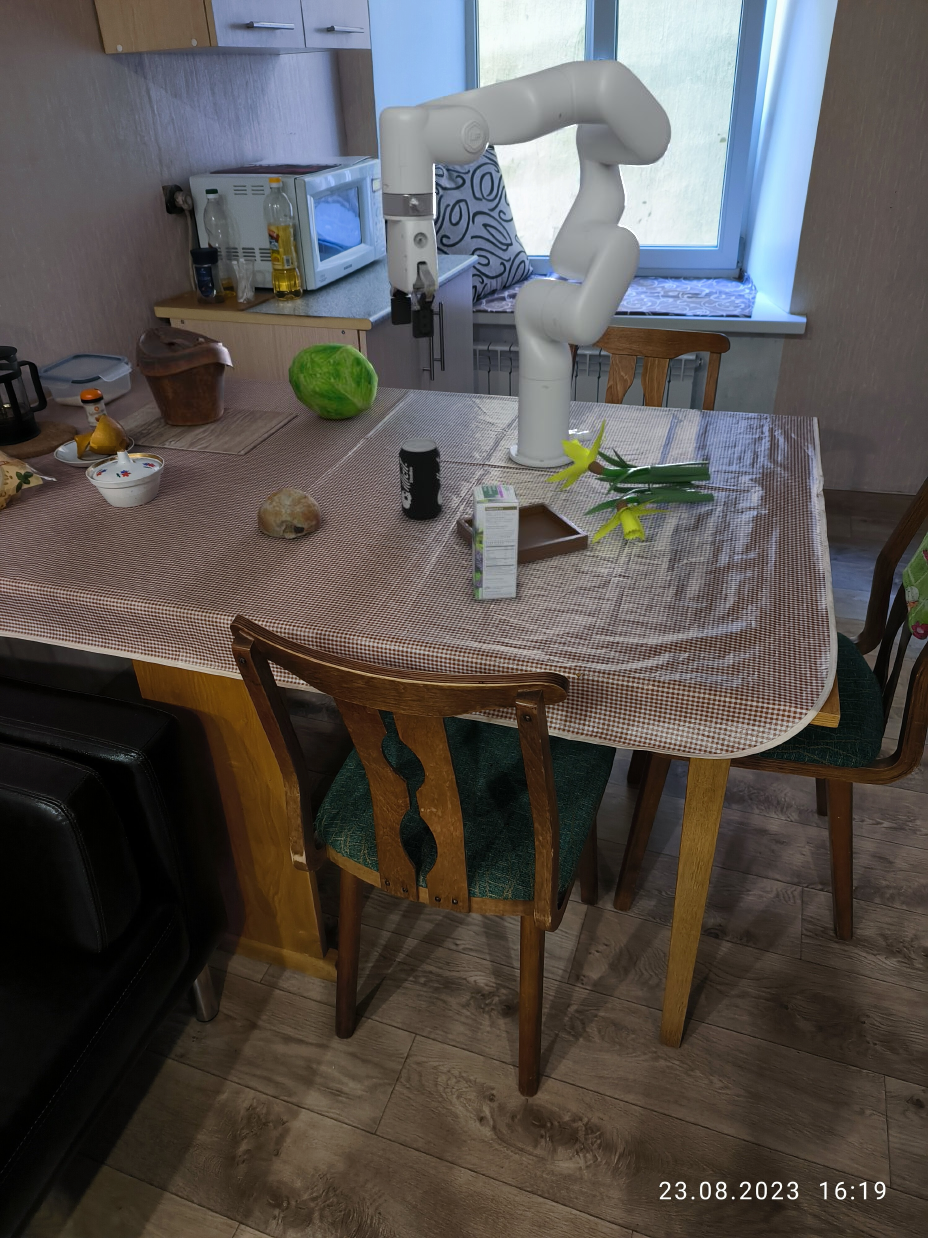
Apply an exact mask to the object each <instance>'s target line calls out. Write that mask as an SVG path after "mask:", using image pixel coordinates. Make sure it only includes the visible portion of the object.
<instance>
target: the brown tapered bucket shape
mask: <svg viewBox="0 0 928 1238" xmlns="http://www.w3.org/2000/svg"><path fill="white" fill-rule="evenodd" d="M134 356H135V358H134V367H135V368H139V371H140V372H139V373H140V374H141V375H142V376H143V377H145V380H146V382H147V384H148V386H149V389H150V391H151V394H152V396H153V398H154V400H155V403H156V405H157V407H158V411H159V412H160V414H161V417H162V420H163V421H164V422H166V423H167V424H168V425H172V426H177V427H178V426H179V427H180V426H181V427H182V426H183V427H185V426H187V427H189V426H202V425H206V424H211V423H213V422H215V421H217V420H219V419H220V418H221V417H222V416H223V415H224V407H225V406H224V404H225V403H224V401H225V400H224V399H225V379H226V378H225V376H226V375H225V374H226V367H228V368H229V367H230V368H231V369H233V370H234V371H235V370H236V369H235V368H234V366H233V363H232V360H231V355H230V352H229V350H228V348H226V347H225V346H224V345H223V343H222V341H219V340H216V339H215V338H212V337H209V336H207V335H204V334H201V333H199V332H195V331H192V330H189V329H185V328H184V329H183V328H180V327H174V326H167V325H160V326H158V325H157V326H152V327H150V328H147V329H146V330H145V331H143V332H142V333H141V334H140V335H139V337H138V339H137V341H136V343H135V355H134Z"/></svg>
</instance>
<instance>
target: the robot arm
mask: <svg viewBox="0 0 928 1238" xmlns="http://www.w3.org/2000/svg"><path fill="white" fill-rule="evenodd" d="M574 126H577V127H576V131H575V133H576V134H575V145H576V151H577V157H578V162H579V169H580V183H579V184H580V185H579V189H578V192H577V194H576V197H575V199H574V201H573V203H572V205H571V207H570V208H569V210H568V213H567V215H566V217H565V218H564V221H562V224H561V226H560V228H559V230H558V232H557V234H556V236H555V238H554V239H553V242H552V245H551V248H550V251H549V256H548V261H549V266H550V268H551V270H552V271H553V272H554V274H556V275H558V276H559V277H560V278H564V279H567V280H562V279H557V278H552V277H537V278H532V279H530V280H528V281H526V282H525V283H524V284H522V286H521V287H520V288H519V289H518V291H517V293H516V295H515V298H514V303H513V318H514V319H513V320H514V324H515V330H516V336H517V344H518V345H517V346H518V390H517V392H518V397H517V399H518V400H517V442H516V443H514V444H512V445H511V446H510V448H509V453H508V454H509V457H510V459H511V460H512V461H513V462H515V463H517V464H519V465H522V466H526V467H531V468H555V467H562V466H566V465H567V464H570V463H572V462H574V461H573V460H572V459H571V458H570V457H569V456H568V455H566V454H564V452H563V451H565V449H564V447H563V445H562V440H566V441H569V442H571V440H572V441H574V439H575V440H576V439H577V440H578V442H579V443H586V442H591V441H592V439H593V435H592V432H591V431H590V430H586V431H581V432H579V430H578V429H577V428H576V429H571V430H570V419H571V399H572V397H571V395H572V378H573V377H572V375H573V357H572V356H573V355H572V352H571V347H570V345H569V344H571V345H576V346H580V347H586V346H590V345H591V346H592V345H594V344H595V343H596V342H598V341H599V340H600V339H601V338H602V337H603V335H604V334H606V333H605V332H606V331H607V330H608V328H609V326H610V324H611V322H612V321H613V319H614V317H615V315H616V313H617V312H618V310H619V307H620V305H621V303H622V302H623V300H624V298H625V296H626V294H627V292H628V290H629V288H630V286H631V285H632V282H633V280H634V278H635V276H636V273H637V271H638V267H639V264H640V256H641V247H640V242H639V239H638V237H637V235H636V233H635V232H634V231H633V230H631V229H630V228H628V227H627V226H625V225H621V224H619V223H620V221H621V218H622V216H623V214H624V212H625V208H626V204H627V192H626V187H625V184H624V180H623V176H622V171H621V167H620V166H628V167H629V166H630V167H631V166H633V167H648V166H653V165H654V164H657V163H658V162H660V161H661V160H662V159H663V158H664V157H665V155H666V154H667V151H668V150H669V147H670V144H671V140H672V127H671V126H672V125H671V121H670V119H669V116H668V113H667V111H666V109H664V107H663V106H662V104H661V103H660V102H659V101H658V100H657V99H656V97H655V96H654V94H653V93H651V91H650V90H649V89H648V87H647V86H646V85H645V84H644V83H643V81H642V80H641V79H640V78H639V77H638V76H637V75H636V74H635V73H634V72H633V71H632V70H631V69H630V68H629V67H628V66H626V65H625V64H624V63H622V62H620V61H618V60H616V59H592V60H591V59H590V60H589V59H588V60H572V61H567V62H564V63H560V64H557V65H554V66H551V67H547V68H545V69H542V70H538V71H536V72H532V73H528V74H524V75H522V76H518V77H515V78H512V79H508V80H503V81H498V82H494V83H491V84H488V85H485V86H481V87H477V88H472V89H470V90H465V91H464V90H463V91H460V92H456V93H452V94H448V95H444V96H441V97H438V98H435V99H430V100H428V101H424V102H422V103H419V104H415V105H413V106H412V105H409V106H408V105H406V106H403V105H402V106H401V105H400V106H399V105H398V106H397V105H396V106H387V107H385V108H383V109H382V110H381V111H380V113H379V117H378V133H379V135H378V136H379V155H380V156H379V157H380V178H381V180H380V181H381V205H382V206H381V207H382V219H384V220H387V230H386V261H387V262H386V263H387V277H388V283H389V284H390V289H389V297H390V316H391V317H390V322H391V325H393V326H400V325H401V326H403V325H411V326H412V327H411V329H412V337H413V339H425V338H433V337H434V336H435V315H434V312H435V298H436V295H435V293H436V292H437V291H438V290H439V287H440V286H439V285H440V283H439V264H438V263H439V262H438V248H437V237H436V230H435V223H434V220H435V219H436V193H435V192H436V182H435V181H436V175H435V172H436V171H435V170H436V169H435V165H443V166H454V167H464V166H469V165H471V164H473V163H475V162H477V161H478V160H480V159H481V158H482V156H483V155H484V154H485V153H486V151H487V148H488V147H489V146H511V145H519V144H524V143H528V142H532V141H534V140H537V139H540V138H542V137H544V136H547V135H550V134H554V133H555V132H559V131H562V130H564V129H567V128H570V127H574ZM569 280H571V281H576V282H571V281H569ZM577 282H581V283H577ZM412 305H413V309H412Z"/></svg>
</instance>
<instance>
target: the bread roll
mask: <svg viewBox="0 0 928 1238" xmlns="http://www.w3.org/2000/svg"><path fill="white" fill-rule="evenodd" d="M256 516H257V526H258V529H259V530H260V531H262V532H263V534H265V535H268V536H270V537H272V538H276V539H286V540H291V539H295V538H299V537H303V536H305V535H307V534H310V533H314V532H317V531H318V530H319V528H320V527H321V524H322V520H323V519H322V518H323V517H322V509H321V507H320V505H319V503H318V501H316V499H315V498H313V497H312V496H311V495H309V494H307V493H305V492H304V491H303V490H300V489H297V488H296V489H295V488H280V489H278V490H276V491H274V492H273V493H272V494H270V495H269V496H268V497H267V499H266V500H265V501H263V502H262V503H261V505H260V506H259V507H258V509H257V513H256Z"/></svg>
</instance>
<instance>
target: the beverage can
mask: <svg viewBox="0 0 928 1238" xmlns="http://www.w3.org/2000/svg"><path fill="white" fill-rule="evenodd" d="M400 447H401V448H400V450H399V452H398V465H399V467H398V468H399V483H400V497H401V511H402V514H404V516H406V517H407V518H408V519H411V520H413V521H430V520H433V519H435V518H437V517H438V516H439V515H440V513H441V512H442V510H443V497H442V496H443V494H442V493H443V492H442V491H443V490H442V466H441V465H442V464H441V451H440V448H439V447H438V442H437V441H436V440H435V439H433V438H428V437H412V438H408V439H405V440H403V441H401V443H400Z"/></svg>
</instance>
